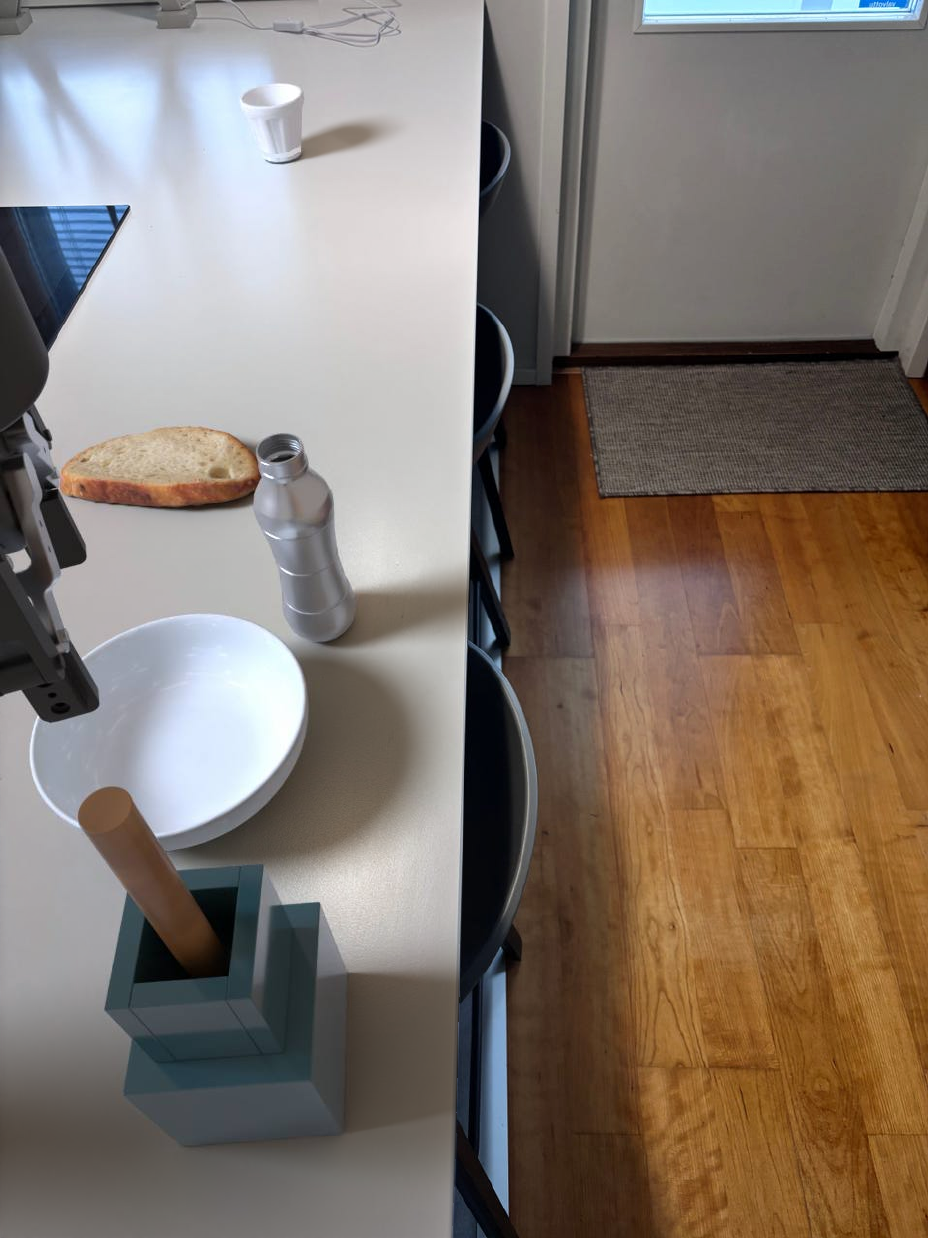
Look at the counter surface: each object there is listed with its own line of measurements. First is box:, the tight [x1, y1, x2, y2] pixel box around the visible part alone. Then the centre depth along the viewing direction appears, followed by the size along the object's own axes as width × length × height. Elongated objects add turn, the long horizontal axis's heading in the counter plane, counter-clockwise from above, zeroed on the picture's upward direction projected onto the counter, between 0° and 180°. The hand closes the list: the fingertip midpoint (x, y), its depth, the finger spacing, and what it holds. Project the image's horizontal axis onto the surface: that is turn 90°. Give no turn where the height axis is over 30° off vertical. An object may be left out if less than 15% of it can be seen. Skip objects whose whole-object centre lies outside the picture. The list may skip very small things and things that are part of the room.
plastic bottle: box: [252, 432, 357, 643], centre depth 78 cm, size 6×7×20 cm
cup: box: [238, 82, 305, 165], centre depth 151 cm, size 10×10×9 cm
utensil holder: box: [103, 863, 349, 1147], centre depth 54 cm, size 10×10×19 cm
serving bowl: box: [29, 613, 309, 852], centre depth 74 cm, size 21×21×7 cm
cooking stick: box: [78, 786, 231, 979], centre depth 46 cm, size 2×2×20 cm
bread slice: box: [59, 425, 262, 508], centre depth 99 cm, size 18×18×4 cm
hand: (68, 632), depth 39 cm, fingers open, 8 cm apart
